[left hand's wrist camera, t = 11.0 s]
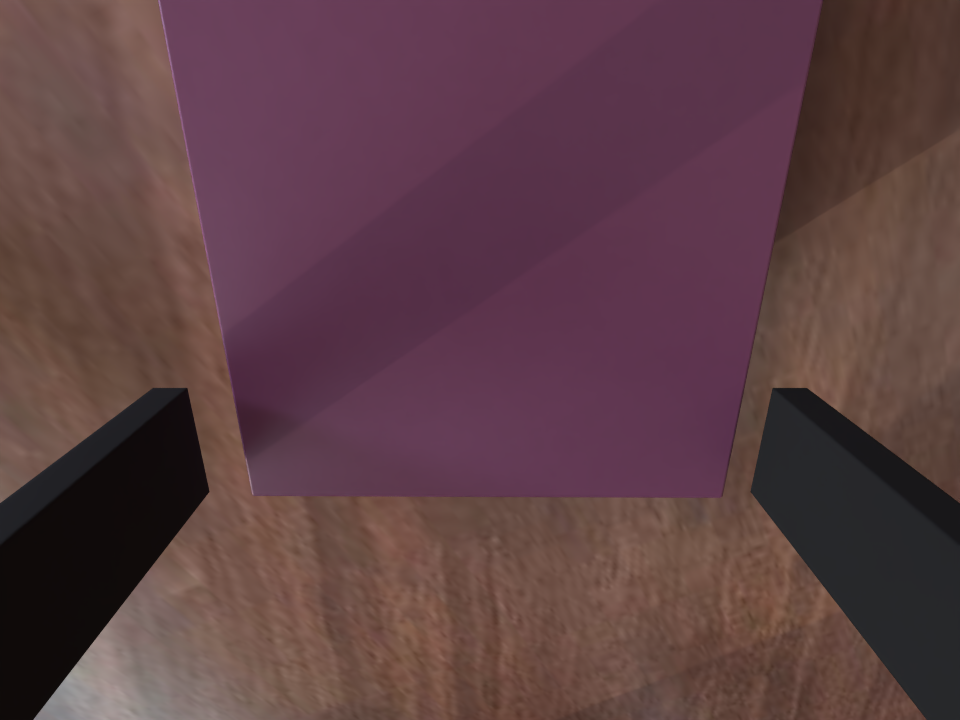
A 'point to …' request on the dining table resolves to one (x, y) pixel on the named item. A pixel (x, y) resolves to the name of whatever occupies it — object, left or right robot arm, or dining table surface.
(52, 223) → the dining table surface
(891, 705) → the dining table surface
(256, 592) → the dining table surface
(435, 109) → the cabinet
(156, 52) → the dining table surface
